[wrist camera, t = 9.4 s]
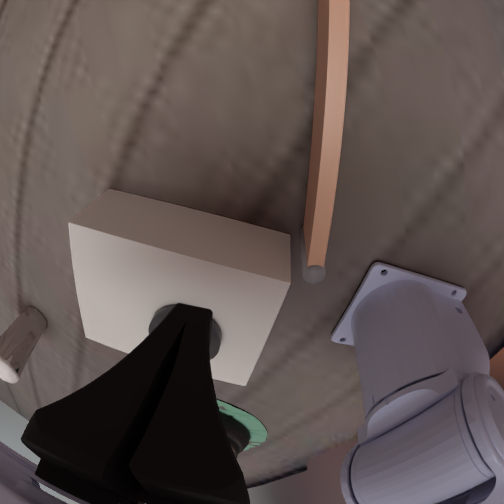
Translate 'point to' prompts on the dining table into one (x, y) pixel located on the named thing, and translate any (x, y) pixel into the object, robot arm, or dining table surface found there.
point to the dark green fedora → (241, 428)
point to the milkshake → (20, 343)
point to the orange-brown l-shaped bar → (325, 135)
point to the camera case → (178, 275)
